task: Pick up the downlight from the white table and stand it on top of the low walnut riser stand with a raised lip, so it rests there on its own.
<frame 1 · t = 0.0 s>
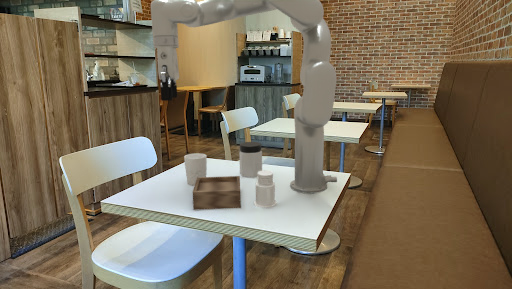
hand: (169, 98, 114), 31 cm above the table, tool pointing down, fingers open, 9 cm apart
white cup: (196, 183, 130), on the table
walnut stand: (218, 200, 113), on the table
downlight: (265, 204, 110), on the table
jar: (251, 174, 139), on the table
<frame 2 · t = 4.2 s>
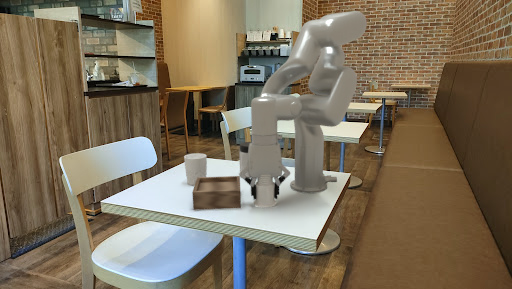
hand: (265, 196, 109), 2 cm above the table, tool pointing down, fingers closed on downlight, 5 cm apart
downlight: (265, 203, 110), on the table, touching gripper
everything else where it was.
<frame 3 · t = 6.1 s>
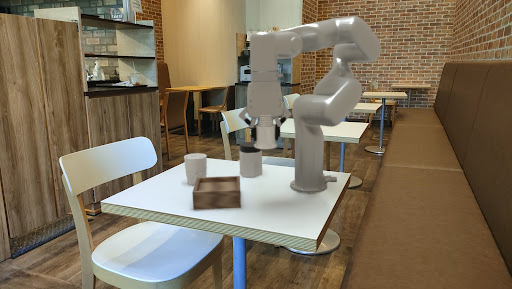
hand: (265, 139, 106), 20 cm above the table, tool pointing down, fingers closed on downlight, 5 cm apart
downlight: (265, 147, 106), point 18 cm above the table, touching gripper
everything else where it was.
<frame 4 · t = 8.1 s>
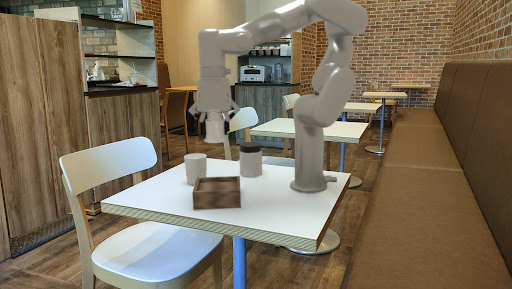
hand: (215, 133, 108), 21 cm above the table, tool pointing down, fingers closed on downlight, 5 cm apart
downlight: (215, 141, 109), point 19 cm above the table, touching gripper
everything else where it was.
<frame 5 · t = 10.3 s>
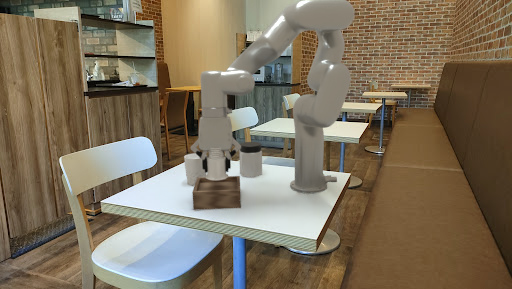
hand: (216, 170, 111), 10 cm above the table, tool pointing down, fingers closed on downlight, 5 cm apart
downlight: (217, 177, 111), point 7 cm above the table, touching gripper
everything else where it was.
when the fingers open (7 cm above the table, at t = 12.1 s): downlight stays where it is, resting on walnut stand.
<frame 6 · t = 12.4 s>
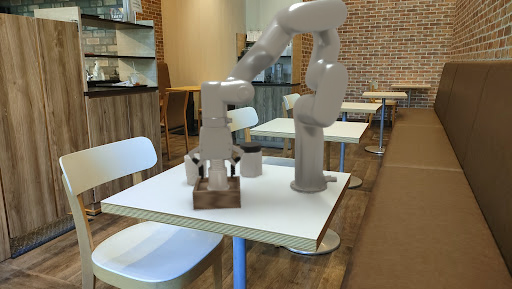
hand: (217, 177, 111), 7 cm above the table, tool pointing down, fingers open, 8 cm apart
downlight: (218, 188, 112), point 4 cm above the table, touching walnut stand
everything else where it was.
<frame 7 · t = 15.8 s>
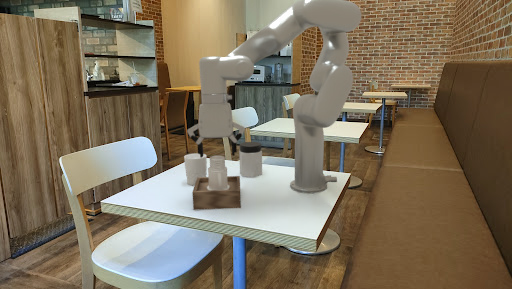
hand: (217, 155, 110), 14 cm above the table, tool pointing down, fingers open, 9 cm apart
nothing on the table moved.
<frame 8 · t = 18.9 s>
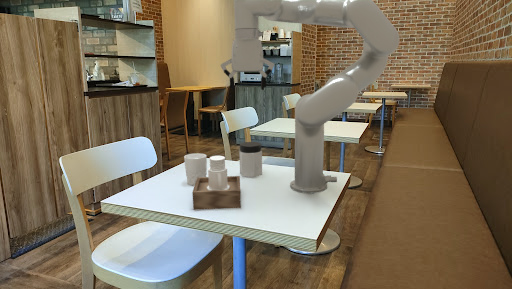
hand: (247, 90, 118), 33 cm above the table, tool pointing down, fingers open, 9 cm apart
nothing on the table moved.
at the end: downlight inside the target area on the walnut stand (0.2 cm from its centre), point 3.8 cm above the walnut stand's base; downlight tilted 0°; the gripper is holding nothing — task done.
